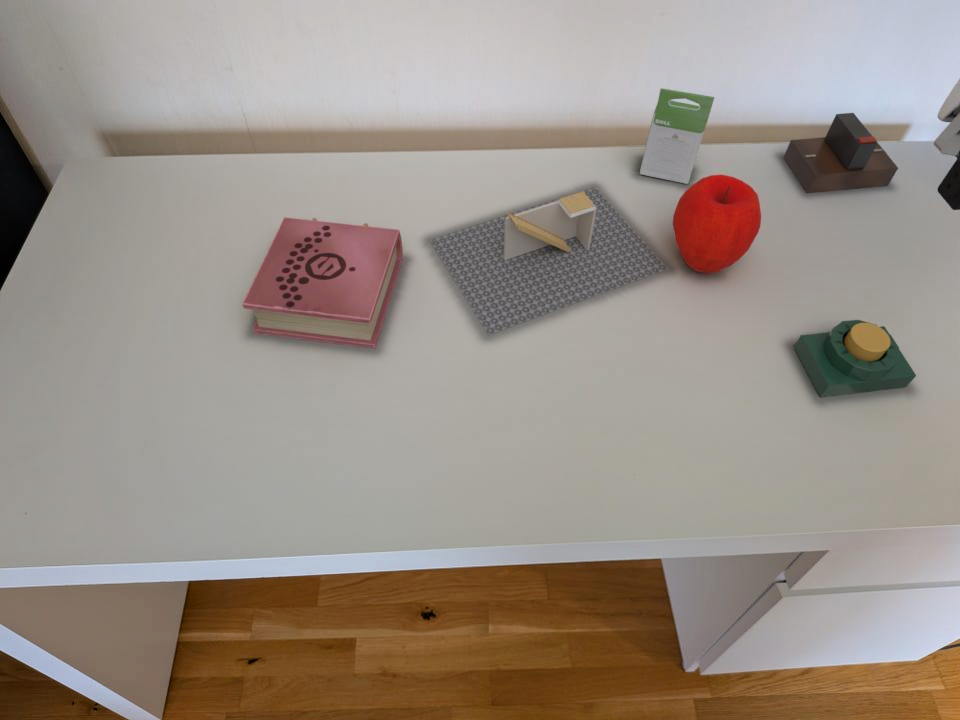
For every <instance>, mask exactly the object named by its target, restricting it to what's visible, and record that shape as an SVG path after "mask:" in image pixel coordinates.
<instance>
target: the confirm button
mask: <svg viewBox="0 0 960 720" xmlns="http://www.w3.org/2000/svg"><path fill="white" fill-rule="evenodd" d="M874 324H875V323H872V324H871V322H868V323H858V324H856V325H854V326H853V327H852V329H851V330H850V331H849V333H848V334H847V336H846V337H845V339H844V345H845V348H846V350H847V351H848V352H849V353H850V354H852V355H853V356H855V357H856V358H857V359H860V360H864V361H869V362H871V361H876V360H878V359H880V358H881V357H882V356H883V354H884V353H885V352H886V351H887V349H888V348H889V347H890V338H889V336H888V334H887V333H886V332H885V331H884V330H883V329H882V328H880V327H881V326H879V325H877V324H875V325H874Z"/></svg>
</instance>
